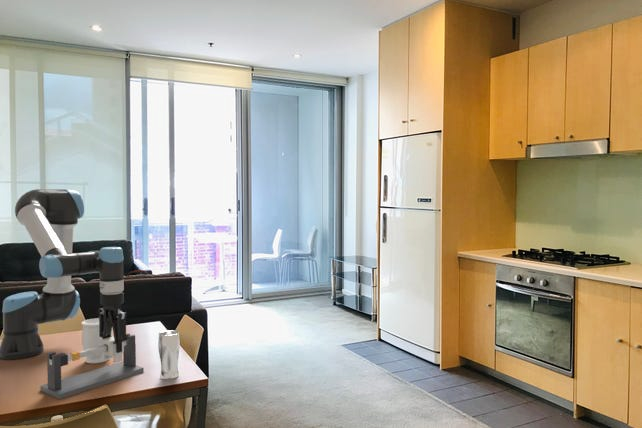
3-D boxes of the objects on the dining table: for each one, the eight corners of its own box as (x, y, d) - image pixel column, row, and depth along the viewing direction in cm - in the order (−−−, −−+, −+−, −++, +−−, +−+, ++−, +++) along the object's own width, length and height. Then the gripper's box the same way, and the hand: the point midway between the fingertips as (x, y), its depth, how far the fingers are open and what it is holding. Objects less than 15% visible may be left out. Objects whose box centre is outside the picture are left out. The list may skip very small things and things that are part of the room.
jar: (101, 365, 179) (100, 324, 178) (75, 364, 181) (75, 323, 180) (118, 356, 189) (118, 317, 189) (94, 355, 191) (94, 316, 191)
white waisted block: (167, 371, 173) (167, 329, 172) (184, 374, 170) (183, 331, 169) (154, 378, 166) (153, 334, 166) (171, 381, 164) (170, 336, 163)
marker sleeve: (101, 353, 169) (101, 339, 169) (115, 350, 173) (115, 336, 173) (110, 356, 166) (109, 341, 166) (123, 352, 170) (123, 338, 170)
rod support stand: (40, 390, 156) (39, 351, 156) (123, 365, 179) (123, 331, 179) (59, 399, 149) (58, 358, 149) (143, 371, 172) (143, 336, 172)
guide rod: (48, 366, 154) (48, 356, 153) (129, 344, 176) (129, 335, 176) (53, 368, 152) (53, 358, 152) (134, 346, 174) (134, 337, 174)
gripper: (87, 291, 171) (88, 357, 172) (116, 297, 160) (118, 368, 161) (107, 288, 177) (108, 352, 178) (137, 293, 166) (138, 362, 167)
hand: (112, 359), depth 169 cm, fingers closed on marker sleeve, 5 cm apart
